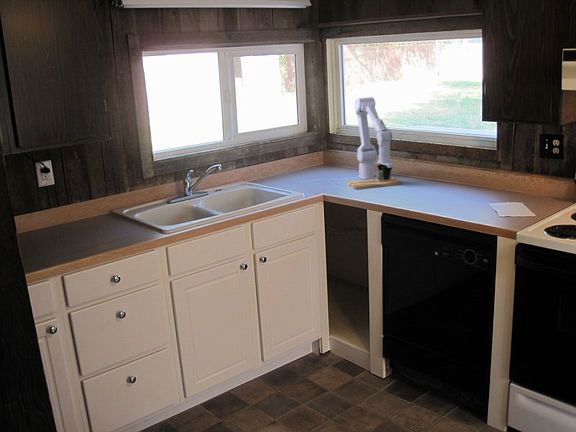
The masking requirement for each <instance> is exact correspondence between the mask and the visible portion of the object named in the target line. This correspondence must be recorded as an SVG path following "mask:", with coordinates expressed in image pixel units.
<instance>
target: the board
mask: <svg viewBox="0 0 576 432" xmlns="http://www.w3.org/2000/svg"><path fill="white" fill-rule="evenodd" d="M346 184H347V186H349V187H351V188H352V189H355V190H363V189H372V188H381V187H391V186H399V185H403V181H402V180H400V179H397V178H396V177H393V176H391V181H381V182H378V181H376V178H371V179H358V180H357V179H356V180H354V179H353V180H347V181H346Z"/></svg>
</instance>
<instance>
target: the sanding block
mask: <svg viewBox="0 0 576 432" xmlns="http://www.w3.org/2000/svg"><path fill="white" fill-rule="evenodd" d="M375 177H376V181H378V182H381V181H391V177H392V171H391V172H390V175H389V179H388V180H384V175H383V170H382V171H379V170H376V171H375Z"/></svg>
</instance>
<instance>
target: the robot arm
mask: <svg viewBox="0 0 576 432" xmlns="http://www.w3.org/2000/svg"><path fill="white" fill-rule="evenodd" d="M353 103H354V104H353V105H354V111H355V114H356V116H357V123H358V129H359V130H358V131H359V136H360V137H359V138H360V146H359V147H357V150H356V151H357V154H356V159H357V160H358V161H359V165H358V175H357V177H358V178H359V179H361V180H364V179H373V178H376V175H375V166H374V165H375V163H374V162H376V160H377V162H376V164H377V165H376V168H377V169H378V171H382V170H383V175H384V180H388V179H389V175H390V172H391V173H392V170H393V166H392V164H393V163H391V141H392V139H393V134H392V131H391V130H390V129H389V128H387V127H386V125H385V123H384V121H383V119H381V118H380V117H379V115H378V112H377V110H376V100H375V98H374V97H373V96H370V97H357V98H356V99H355V101H354V102H353ZM368 116H369V117H370V119H371V121H372V127H373V129H374V131H375V133H376V141H377V145H378V153H377V150H376V147H375V145H373V144H372V142H371V138H370V137H371V136H370V129H369V123H368V122H369V121H368ZM377 158H378V159H377Z"/></svg>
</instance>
